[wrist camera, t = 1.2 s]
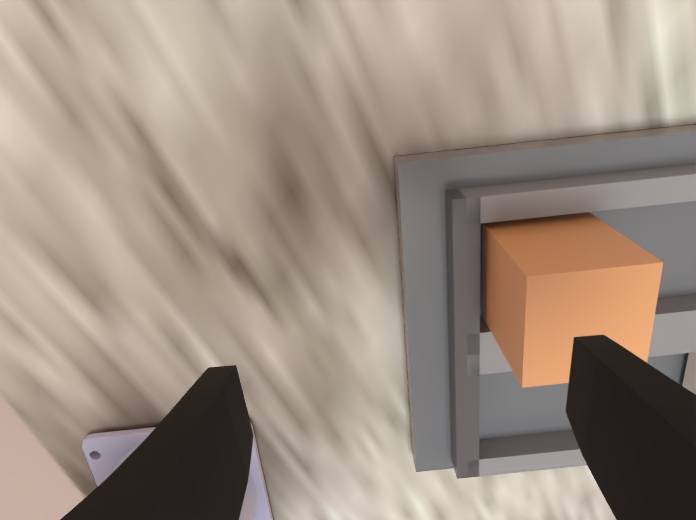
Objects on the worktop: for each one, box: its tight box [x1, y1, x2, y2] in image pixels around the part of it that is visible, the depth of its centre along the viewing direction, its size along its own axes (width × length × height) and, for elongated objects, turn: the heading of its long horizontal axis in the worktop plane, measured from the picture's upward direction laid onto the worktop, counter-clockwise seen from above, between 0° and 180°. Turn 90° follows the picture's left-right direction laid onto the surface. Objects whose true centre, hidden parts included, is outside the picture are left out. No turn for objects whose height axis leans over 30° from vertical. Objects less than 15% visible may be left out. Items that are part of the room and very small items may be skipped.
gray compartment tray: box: [394, 124, 696, 479], centre depth 22 cm, size 15×19×2 cm
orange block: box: [481, 212, 663, 388], centre depth 18 cm, size 4×4×5 cm
